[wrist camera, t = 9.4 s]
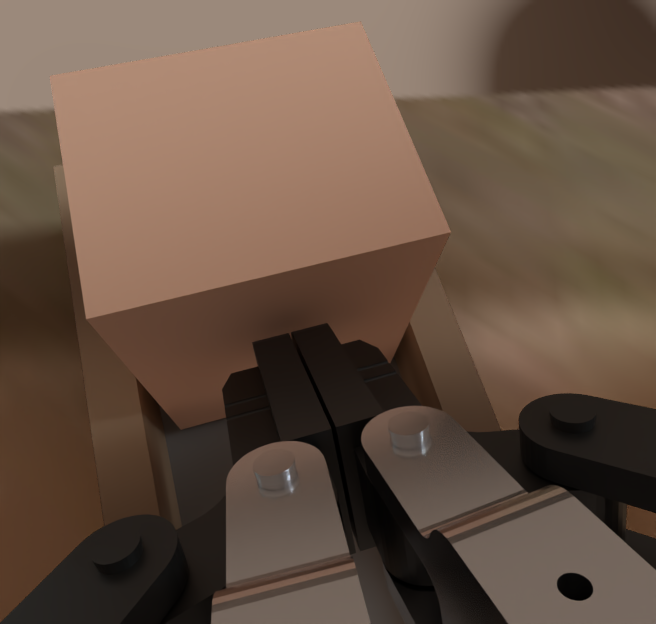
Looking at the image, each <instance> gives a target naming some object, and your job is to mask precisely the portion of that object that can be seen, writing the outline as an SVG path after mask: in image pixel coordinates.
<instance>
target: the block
mask: <svg viewBox="0 0 656 624" xmlns="http://www.w3.org/2000/svg"><path fill="white" fill-rule="evenodd" d="M50 80H51V87H52V94H53V100H54V107H55V114H56V121H57V128H58V134H59V141H60V148H61V154H62V161H63V168H64V174H65V181H66V188H67V195H68V201H69V208H70V215H71V221H72V228H73V235H74V241H75V248H76V255H77V262H78V268H79V275H80V282H81V288H82V295H83V302H84V309H85V315H86V320H87V321H88V322H89V323H90V324H91V325H92V327H93V328H94V329H95V330H96V331H97V332H98V334H99V335H100V336H101V337H102V338H103V339H104V341H105V342H106V343H107V344H108V345H109V347H110V348H111V349H112V350H113V351H114V352H115V354H116V355H117V356H118V357H119V358H120V359H121V361H122V362H123V363H124V364H125V365H126V366H127V368H128V369H129V370H130V371H131V372H132V373H133V375H134V376H135V377H136V378H137V379H138V380H139V382H140V383H141V384H142V385H143V386H144V387H145V389H146V390H147V391H148V392H149V393H150V394H151V396H152V397H153V398H154V399H155V400H156V401H157V403H158V404H159V405H160V406H161V407H162V408H163V410H164V411H165V412H166V413H167V414H168V415H169V417H170V418H171V419H172V420H173V421H174V422H175V424H176V425H177V426H178V427H179V428H180V429H181V430H182V429H186V428H189V427H193V426H197V425H200V424H204V423H208V422H211V421H215V420H218V419H222V418H226V414H225V406H224V400H223V393H222V388H223V387H224V385H225V383H226V381H227V380H228V378H229V376H230V374H231V373H234V372H238V371H242V370H246V369H250V368H253V367H257V366H258V365H257V361H256V357H255V353H254V349H253V345H252V342H255V341H258V340H262V339H266V338H270V337H274V336H278V335H282V334H286V333H289V335H290V337H291V332H293V331H297V330H301V329H305V328H309V327H313V326H317V325H321V324H325V323H328V324H329V326H330V327H331V329H332V331H333V332H334V334H335V335H336V337H337V338H338V340H339V342H340V343H341V344H344V343H348V342H352V341H356V340H362V341H364V342H366V343H369V344H371V345H373V346H375V347H378V348H379V350H380V351H381V352H382V354H383V355H384V356H385V357H386V359H387V360H388V363H391V361H392V359H393V356H394V354H395V352H396V350H397V348H398V346H399V343H400V341H401V339H402V337H403V335H404V333H405V330H406V328H407V326H408V324H409V322H410V320H411V318H412V315H413V313H414V311H415V309H416V307H417V305H418V302H419V300H420V298H421V296H422V294H423V292H424V289H425V287H426V285H427V283H428V281H429V279H430V276H431V274H432V272H433V270H434V268H435V266H436V264H437V261H438V259H439V257H440V255H441V253H442V251H443V248H444V246H445V244H446V242H447V240H448V238H449V235H450V233H451V231H450V229H449V226H448V224H447V222H446V219H445V217H444V215H443V212H442V210H441V208H440V205H439V203H438V201H437V198H436V196H435V193H434V191H433V189H432V186H431V184H430V182H429V179H428V177H427V175H426V172H425V170H424V168H423V165H422V163H421V161H420V158H419V156H418V154H417V151H416V149H415V147H414V144H413V142H412V140H411V137H410V135H409V133H408V130H407V128H406V126H405V123H404V121H403V119H402V116H401V114H400V112H399V109H398V107H397V105H396V102H395V100H394V98H393V95H392V93H391V91H390V89H389V86H388V84H387V82H386V79H385V77H384V74H383V72H382V70H381V68H380V65H379V63H378V60H377V58H376V56H375V53H374V51H373V49H372V47H371V44H370V42H369V39H368V37H367V35H366V32H365V30H364V28H363V25H362V23H361V22H356V23H349V24H344V25H338V26H333V27H326V28H322V29H315V30H309V31H303V32H298V33H292V34H287V35H281V36H275V37H269V38H263V39H258V40H252V41H246V42H241V43H235V44H229V45H224V46H218V47H212V48H206V49H201V50H195V51H189V52H184V53H178V54H172V55H166V56H161V57H155V58H150V59H143V60H138V61H132V62H126V63H120V64H115V65H110V66H103V67H97V68H92V69H86V70H80V71H75V72H69V73H63V74H57V75H52V76H50ZM291 339H292V338H291Z"/></svg>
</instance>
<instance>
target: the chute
mask: <svg viewBox="0 0 656 624" xmlns="http://www.w3.org/2000/svg"><path fill="white" fill-rule="evenodd" d="M53 167H54V174H55V181H56V188H57V195H58V202H59V209H60V216H61V223H62V230H63V237H64V244H65V251H66V258H67V266H68V273H69V280H70V287H71V294H72V301H73V308H74V315H75V322H76V329H77V336H78V343H79V350H80V357H81V364H82V371H83V379H84V386H85V393H86V400H87V407H88V414H89V421H90V428H91V435H92V442H93V449H94V456H95V463H96V470H97V477H98V484H99V492H100V499H101V506H102V513H103V520H104V526H106V525H108V524H110V523H112V522H114V521H117V520H119V519H122V518H126V517H130V516H134V515H145V514H150V515H157V516H160V517H163V518H165V519H167V520H168V521H170V522H171V523H172V524H173V526H174V527H175V529H176V530H177V529H179V528H180V527H182V526H184V525H186V524H188V523H190V522H191V521H193V520H195V519H197V518H198V517H200V516H202V515H203V514H205V513H206V512H208V511H209V510H210V509H212V508H213V507H214V506H215V505H216V504H217V503H219V502H220V501H221V499H222V498H223V497H224V496H225V495H226V480H227V476H228V474H229V472H230V470H231V469H232V467H233V462H232V455H231V448H230V441H229V434H228V427H227V419H226V418H222V419H218V420H215V421H211V422H208V423H204V424H200V425H197V426H193V427H189V428H186V429H182V430H181V429H180V428H179V427H178V426H177V425H176V424H175V422H174V421H173V420H172V419H171V418H170V417H169V415H168V414H167V413H166V412H165V411H164V410H163V408H162V407H161V406H160V405H159V404H158V403H157V401H156V400H155V399H154V398H153V397H152V396H151V394H150V393H149V392H148V391H147V390H146V389H145V387H144V386H143V385H142V384H141V383H140V382H139V380H138V379H137V378H136V377H135V376H134V375H133V373H132V372H131V371H130V370H129V369H128V368H127V366H126V365H125V364H124V363H123V362H122V361H121V359H120V358H119V357H118V356H117V355H116V354H115V352H114V351H113V350H112V349H111V348H110V347H109V345H108V344H107V343H106V342H105V341H104V339H103V338H102V337H101V336H100V335H99V334H98V332H97V331H96V330H95V329H94V328H93V327H92V325H91V324H90V323H89V322H88V321H87V320H86V315H85V309H84V302H83V295H82V288H81V282H80V275H79V268H78V262H77V255H76V248H75V241H74V235H73V228H72V221H71V215H70V208H69V201H68V195H67V188H66V181H65V174H64V168H63V165H58V166H53ZM390 364H391V365H392V367H393V368H394V369H395V371H396V374H398V375H399V376H400V377H401V378H402V380H403V381H404V382H405V384H406V385H407V386H408V388H409V389H410V390H411V392H412V393H413V394H414V396H415V397H416V398H417V399H418V401H419V402H420V403H421V405H422V406H426V407H431V408H435V409H438V410H441V411H443V412H445V413H447V414H449V415H450V416H451V417H452V418H453V419H454V420H455V421H456V422H457V423H458V424H459V425H460V426H461V427H462V428H463V429H464V430H465V431H468V432H492V431H501V429H500V426H499V424H498V421H497V419H496V416H495V414H494V412H493V409H492V407H491V404H490V402H489V399H488V397H487V394H486V392H485V389H484V387H483V384H482V382H481V379H480V377H479V375H478V372H477V370H476V367H475V365H474V362H473V360H472V357H471V355H470V352H469V350H468V347H467V345H466V343H465V340H464V338H463V335H462V333H461V330H460V328H459V325H458V323H457V320H456V318H455V315H454V313H453V311H452V308H451V306H450V303H449V301H448V298H447V296H446V293H445V291H444V288H443V286H442V283H441V281H440V278H439V276H438V274H437V271H436V269H435V268H434V270H433V272H432V274H431V276H430V279H429V281H428V283H427V285H426V287H425V289H424V292H423V294H422V296H421V298H420V300H419V302H418V305H417V307H416V309H415V311H414V313H413V315H412V318H411V320H410V322H409V324H408V326H407V328H406V330H405V333H404V335H403V337H402V339H401V341H400V343H399V346H398V348H397V350H396V352H395V354H394V356H393V359H392V361H391V363H390ZM352 534H353V532H352ZM353 539H354V544H355V549H356V553H355V554H351V555H350V556H352V557H353V560H354V563H355V567H356V570H357V574H358V578H359V582H360V585H361V589H362V593H363V597H364V600H365V604H366V608H367V612H368V615H369V619H370V623H371V624H406V623H405V621H404V619H403V617H402V615H401V613H400V611H399V610H398V608H397V606H396V604H395V602H394V600H393V598H392V596H391V594H390V592H389V590H388V587H387V583H386V578H385V572H384V566H383V561H382V558H381V556H380V554H379V551H378V549H377V547H373V548H369V549H366V550H363V551H360V549H359V547H358V544H357V542H356V539H355V537H354V534H353Z"/></svg>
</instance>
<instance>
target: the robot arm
mask: <svg viewBox="0 0 656 624" xmlns="http://www.w3.org/2000/svg"><path fill="white" fill-rule="evenodd" d="M291 338H292V339H291ZM252 345H253V349H254V353H255V357H256V361H257V365H258V366H257V367H253V368H250V369H246V370H242V371H238V372H234V373H231V374H230V376H229V378H228V380H227V381H226V383H225V385H224V387H223V388H222V393H223V400H224V406H225V414H226V419H227V427H228V434H229V441H230V448H231V455H232V462H233V467H232V469H231V470H230V472H229V474H228V476H227V480H226V495H225V496H224V497H223V498H222V499H221V501H220V502H219V503H217V504H216V505H215V506H214V507H213V508H212V509H210V510H209V511H208V512H206V513H205V514H203V515H202V516H200V517H198V518H197V519H195V520H193V521H191V522H190V523H188V524H186V525H184V526H182V527H180V528H179V529H177V530H176V529H175V527H174V526H173V524H172V523H171V522H170V521H168V520H167V519H165V518H163V517H160V516H157V515H150V514H145V515H134V516H130V517H126V518H122V519H119V520H117V521H114V522H112V523H110V524H108V525H106V526H104V527H102V528H100V529H99V530H97V531H95V532H94V533H93V534H91V535H90V536H88V537H87V538H86V539H85V540H84V541H83V542H81V543H80V544H79V545H78V546H77V547H76V548H75V549H74V550H73V551H72V552H71V553H70V554H69V555H68V556H67V557H66V558H65V559H64V560H63V561H62V562H61V563H60V564H59V565H58V566H57V567H56V568H55V569H54V570H53V571H52V572H51V573H50V574H49V575H48V576H47V577H46V578H45V579H44V580H43V581H42V582H41V583H40V584H39V585H38V586H37V587H36V588H35V589H34V590H33V591H32V592H31V593H30V594H29V595H28V596H27V597H26V598H25V599H24V600H23V601H22V602H21V603H20V604H19V605H18V606H17V607H16V608H15V609H14V610H13V611H12V612H11V613H10V614H9V615H8V616H7V617H6V618H5V619H4V620H3V621H2V622H1V623H0V624H371V623H370V619H369V615H368V612H367V608H366V604H365V600H364V597H363V593H362V589H361V585H360V582H359V578H358V574H357V570H356V567H355V563H354V560H353V557H352V556H350V555H351V554H355V553H356V549H355V544H354V539H353V534H354V537H355V539H356V542H357V544H358V547H359V549H360V551H363V550H366V549H369V548H373V547H377V549H378V551H379V554H380V556H381V558H382V561H383V566H384V572H385V578H386V583H387V587H388V590H389V592H390V594H391V596H392V598H393V600H394V602H395V604H396V606H397V608H398V610H399V611H400V613H401V615H402V617H403V619H404V621H405V623H406V624H656V539H655V538H652V537H649V536H646V535H643V534H640V533H637V532H634V531H631V530H628V529H626V514H627V504H628V505H631V506H634V507H638V508H641V509H644V510H648V511H651V512H654V513H656V409H652V408H647V407H642V406H637V405H632V404H627V403H622V402H617V401H613V400H608V399H603V398H598V397H593V396H588V395H582V394H554V395H549V396H545V397H542V398H539V399H536V400H534V401H532V402H531V403H529V404H528V405H526V406H525V407H524V408H523V410H522V411H521V413H520V416H519V430H506V431H492V432H468V431H465V430H464V429H463V428H462V427H461V426H460V425H459V424H458V423H457V422H456V421H455V420H454V419H453V418H452V417H451V416H450V415H449V414H447V413H445V412H443V411H441V410H438V409H435V408H431V407H426V406H422V405H421V403H420V402H419V401H418V399H417V398H416V397H415V396H414V394H413V393H412V392H411V390H410V389H409V388H408V386H407V385H406V384H405V382H404V381H403V380H402V378H401V377H400V376H399V375H398V374H396V371H395V369H394V368H393V367H392V365H391V364H390V363H388V360H387V359H386V357H385V356H384V355H383V354H382V352H381V351H380V350H379V348H378V347H375V346H373V345H371V344H369V343H366V342H364V341H362V340H356V341H352V342H348V343H344V344H341V343H340V342H339V340H338V338H337V337H336V335H335V334H334V332H333V331H332V329H331V327H330V326H329V324H328V323H325V324H321V325H317V326H313V327H309V328H305V329H301V330H297V331H293V332H291V337H290V335H289V333H286V334H282V335H278V336H274V337H270V338H266V339H262V340H258V341H255V342H252ZM352 532H353V534H352Z"/></svg>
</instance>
